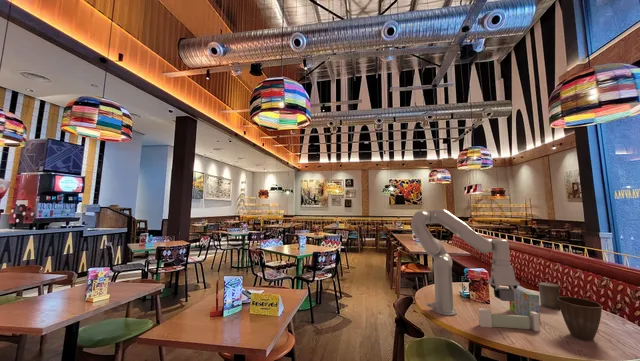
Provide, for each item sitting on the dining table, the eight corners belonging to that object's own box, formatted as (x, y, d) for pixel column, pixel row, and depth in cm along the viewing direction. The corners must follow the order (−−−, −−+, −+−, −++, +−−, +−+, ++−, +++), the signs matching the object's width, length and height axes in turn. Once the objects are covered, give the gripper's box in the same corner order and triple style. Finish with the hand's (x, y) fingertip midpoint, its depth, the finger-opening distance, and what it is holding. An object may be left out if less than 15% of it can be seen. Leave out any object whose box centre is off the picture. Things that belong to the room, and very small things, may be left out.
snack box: (542, 325, 134) (539, 295, 135) (529, 324, 135) (527, 294, 137) (519, 310, 154) (517, 284, 156) (509, 309, 155) (507, 283, 157)
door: (492, 326, 131) (491, 314, 131) (491, 325, 132) (490, 312, 133) (533, 329, 128) (532, 316, 129) (531, 328, 130) (529, 315, 130)
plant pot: (614, 343, 116) (610, 305, 118) (592, 347, 112) (588, 308, 114) (573, 328, 130) (570, 295, 132) (552, 332, 126) (549, 297, 128)
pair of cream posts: (481, 327, 131) (480, 310, 132) (478, 324, 134) (478, 308, 135) (540, 331, 127) (539, 314, 128) (536, 328, 130) (534, 311, 131)
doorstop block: (502, 300, 134) (501, 290, 135) (494, 296, 141) (493, 286, 142) (514, 301, 134) (513, 291, 134) (506, 296, 140) (505, 287, 141)
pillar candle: (566, 310, 155) (563, 284, 157) (549, 309, 155) (546, 283, 158) (551, 304, 165) (549, 280, 167) (536, 304, 165) (534, 279, 167)
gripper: (487, 263, 137) (490, 299, 135) (523, 264, 135) (526, 301, 132) (481, 260, 145) (483, 294, 142) (515, 262, 142) (517, 296, 140)
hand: (504, 297), depth 137 cm, fingers closed on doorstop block, 6 cm apart
